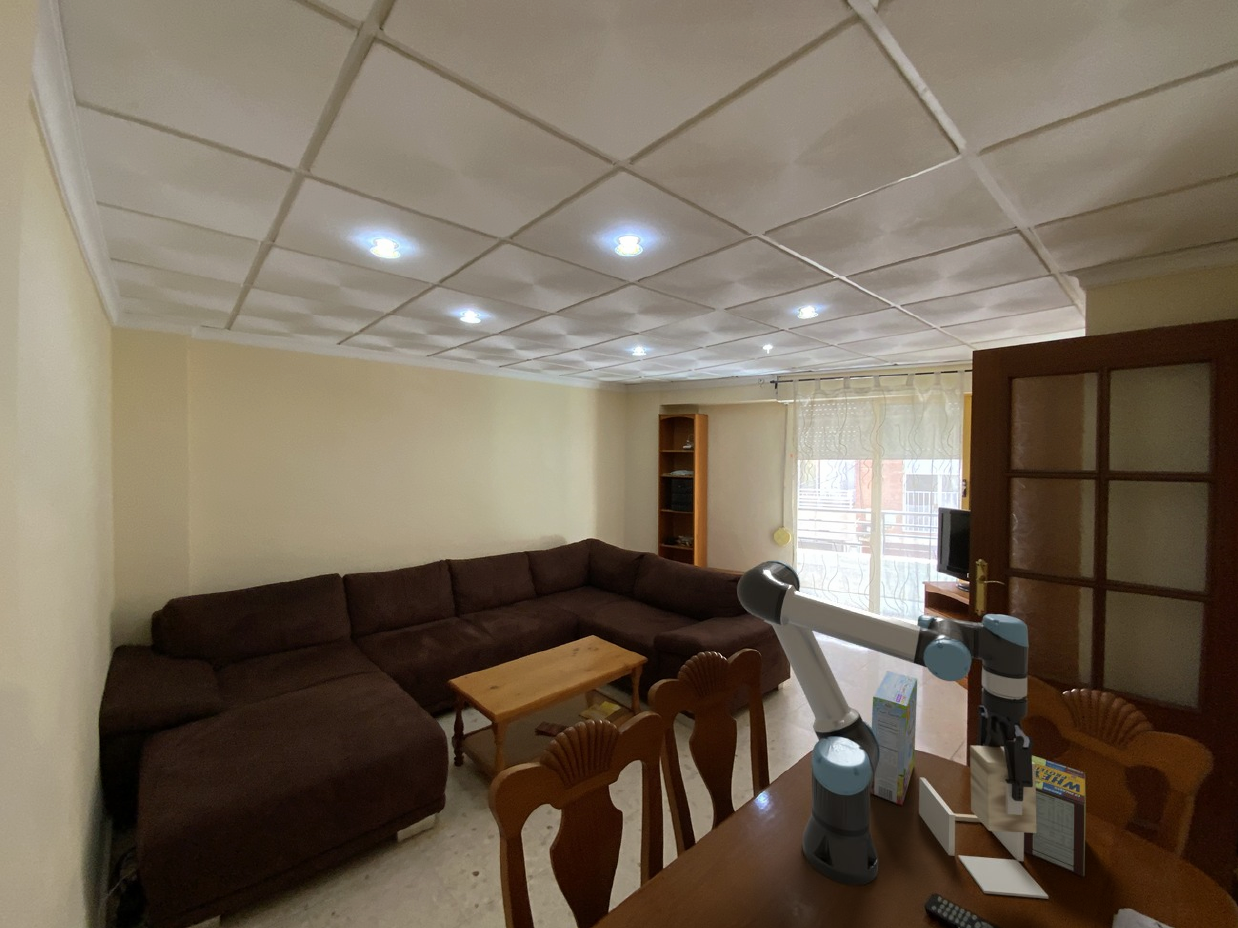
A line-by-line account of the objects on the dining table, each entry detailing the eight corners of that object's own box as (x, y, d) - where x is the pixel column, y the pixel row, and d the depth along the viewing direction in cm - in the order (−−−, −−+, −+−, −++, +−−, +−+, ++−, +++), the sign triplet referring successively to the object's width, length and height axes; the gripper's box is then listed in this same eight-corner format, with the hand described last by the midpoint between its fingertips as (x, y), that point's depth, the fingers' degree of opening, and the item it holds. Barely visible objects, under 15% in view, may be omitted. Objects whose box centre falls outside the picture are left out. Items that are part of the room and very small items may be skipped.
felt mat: (984, 892, 100) (984, 890, 100) (958, 857, 109) (958, 855, 109) (1048, 898, 99) (1048, 895, 99) (1016, 862, 108) (1016, 859, 108)
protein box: (1084, 837, 115) (1085, 771, 115) (1084, 878, 104) (1085, 804, 104) (1026, 815, 123) (1027, 752, 123) (1020, 850, 111) (1021, 781, 111)
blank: (988, 830, 102) (987, 762, 101) (971, 809, 108) (970, 745, 107) (1036, 832, 101) (1035, 763, 101) (1015, 811, 107) (1014, 746, 107)
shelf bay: (948, 854, 110) (949, 814, 110) (918, 813, 123) (919, 777, 123) (1023, 861, 108) (1024, 819, 108) (985, 818, 121) (985, 781, 121)
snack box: (906, 808, 125) (907, 706, 124) (867, 794, 130) (869, 696, 130) (917, 766, 142) (918, 676, 142) (883, 755, 147) (884, 668, 147)
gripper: (1059, 715, 94) (1057, 837, 94) (993, 673, 113) (992, 774, 113) (1016, 713, 95) (1015, 834, 95) (958, 671, 114) (957, 772, 114)
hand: (1002, 801), depth 104 cm, fingers closed on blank, 6 cm apart
